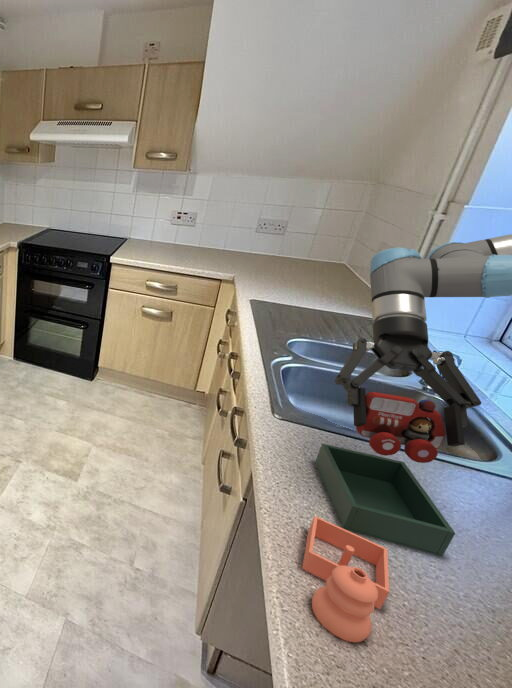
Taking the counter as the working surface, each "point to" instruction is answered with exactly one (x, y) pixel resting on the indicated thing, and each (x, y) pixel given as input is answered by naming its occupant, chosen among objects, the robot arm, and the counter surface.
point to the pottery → (346, 581)
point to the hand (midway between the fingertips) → (406, 434)
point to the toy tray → (382, 500)
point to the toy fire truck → (402, 426)
